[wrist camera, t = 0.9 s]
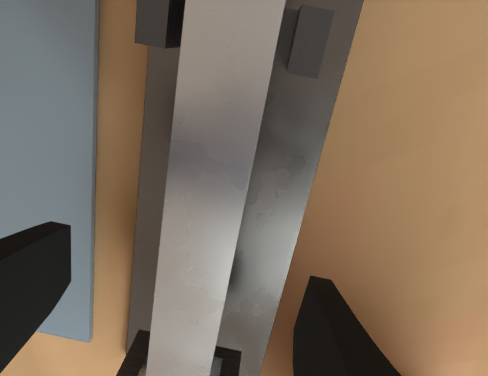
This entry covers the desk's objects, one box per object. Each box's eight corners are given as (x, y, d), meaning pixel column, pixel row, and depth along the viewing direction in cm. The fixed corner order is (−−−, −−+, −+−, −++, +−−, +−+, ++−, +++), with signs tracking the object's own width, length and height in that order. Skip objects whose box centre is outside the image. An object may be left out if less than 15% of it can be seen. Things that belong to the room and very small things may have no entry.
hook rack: (254, 384, 23) (243, 510, 17) (130, 357, 23) (75, 472, 17) (396, -130, 13) (501, -286, 7) (172, -172, 13) (73, -362, 7)
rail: (202, 413, 17) (192, 457, 16) (153, 402, 18) (138, 445, 16) (303, -83, 10) (308, -112, 8) (215, -101, 10) (199, -133, 8)
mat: (91, 337, 23) (88, 342, 22) (-47, 307, 23) (-53, 312, 22) (102, -150, 13) (97, -155, 13) (-134, -195, 13) (-145, -201, 13)
